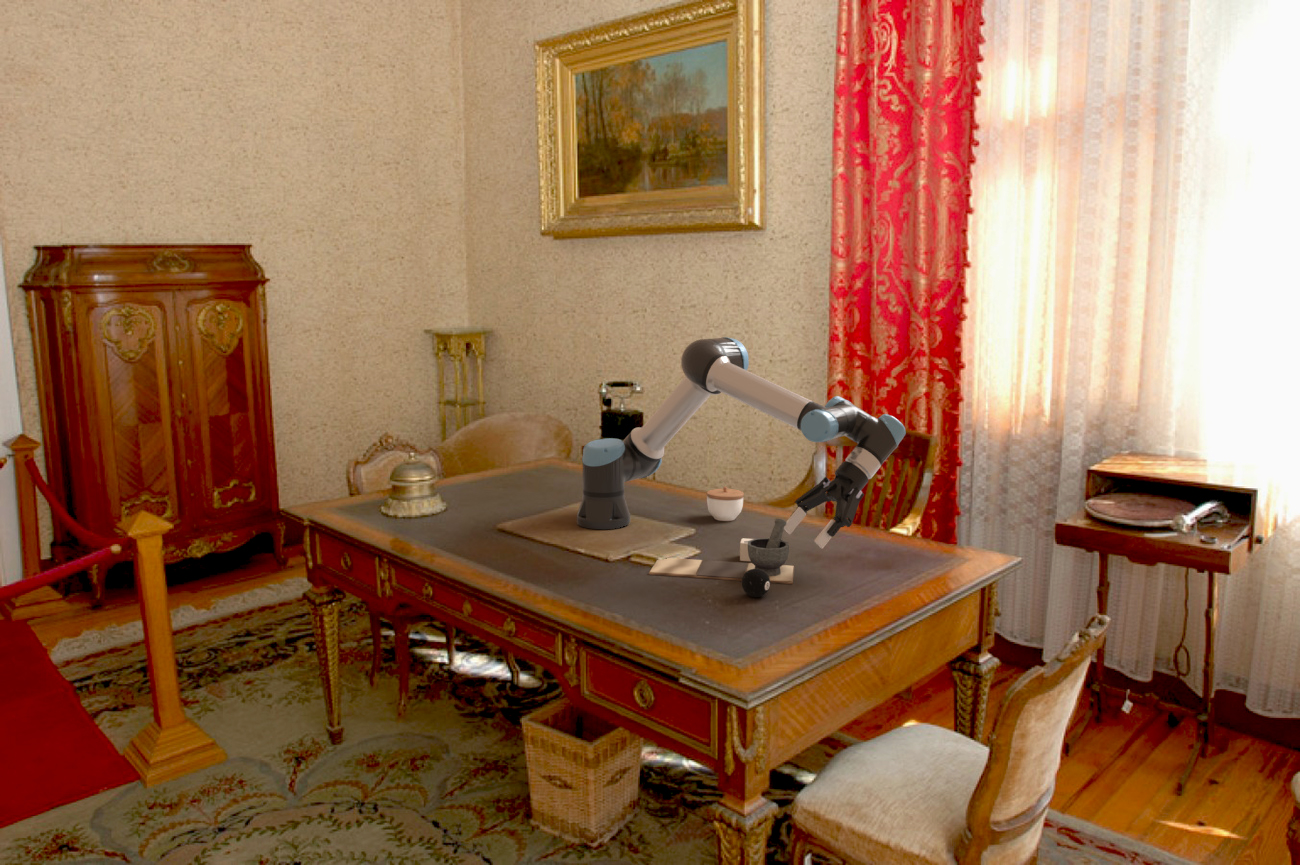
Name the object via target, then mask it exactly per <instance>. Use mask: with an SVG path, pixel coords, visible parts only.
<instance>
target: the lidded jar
mask: <svg viewBox="0 0 1300 865" xmlns="http://www.w3.org/2000/svg"><path fill="white" fill-rule="evenodd" d="M744 497H745V493H744V492H743V490H738V489H734V488H733V489H732V488H728V487H727V486H723V488H715V489H714V488H713V489H710V490H708V491H706V504H707V509H708V512H709V514H710V515H711V516H712V517H713V519H714V520H716V521H721V522H730V521H731V522H733V521H735V520H736V518H737V517H738V516H739V515H740V514H741V512H742V511H743V506H744Z"/></svg>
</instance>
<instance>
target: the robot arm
mask: <svg viewBox="0 0 1300 865" xmlns="http://www.w3.org/2000/svg"><path fill="white" fill-rule="evenodd" d="M749 362H750V361H749V353H748V351H747V349H746V347H745V346H744V344H743V343H742V342H741V341H739V340H738V339H735V338H733V337H728V336H724V337H717V338H701V339H698V340H697V339H696V340H694V341H692V342H691V343H689V344H688V345H687V346H686V347H685V349H684V350H683V352H682V355H681V360H680V365H681V370H682V372H683V373H684V375H685V377H684V378H683V379H682V380H681V381H680V383H679V384H678V385H677V386H676V387H675V389H673V391H672V392H671V393H670V395H668V396H667V398H666V399H665V400H664V401H663V402H662V404H660V405H659V407H658V408H657V409H655V411H654V413H653V414H652V415H651V416H650V417H649V418H648V420H647V421H646V422H645V423H644V425H642V426H641V427H640V426H639V427H635V428H633V429H632V430H631V431H630V432H629V433H628V435H627V436H626V437H625V438H624V439H623V440H622V439H619V438H613V437H611V438H610V437H609V438H602V439H601V438H600V439H595V440H592V441H589V442H587V443H586V444H585V445H584V446H583V449H582V458H581V460H582V499H581V502H580V505H579V508H578V510H577V513H576V514H577V515H576V524H577V525H578V526H580V527H582V528H585V529H591V530H593V529H594V530H614V529H615V528H616V529H621V528H624V527H623V526H625V527H627V526H629V525H630V524H631V513H630V511H629V507H628V503H627V501H626V498H625V483H626V482H630V481H631V482H632V481H635V480H638V479H645V478H647V477H649V476H651V475H653V474H655V473H656V472H657V471H658V470H659V468H660V467H661V465H662V461H663V459H662V458H663V456H664V455H665V447H666V446H667V444H668V443H669V442H670V441H671V440H672V439H673V438H674V437H675V436H676V435H677V433H678V432H679V431H680V430H681V429H682V428H683V427H684V426H685V425H686V424H687V422H688V421H690V419H691V418H692V417H693V416H694V414H695V413H696V412H697V411H698V410H699V409H700V408H701V407H702V406H703V404H704V403H705V402H707V400H708V399H709V398H710V397H711V396H718V395H720V394H721V393H722V394H724V395H727V396H729V397H730V398H733V399H735V400H737V401H739V402H741V403H743V404H746V405H747V406H749V407H751V408H754V409H755V410H757V411H759V412H761V413H763V414H766V415H768V416H770V417H772V418H773V419H776V420H778V421H780V422H783V423H784V424H787V425H789V426H791V427H793V428H794V429H797V430H799V431H801V433H802V435H803V436H804V438H805V439H806V440H808V441H810V442H812V443H825V442H828V441H831V440H833V439H837V438H841V437H847V438H848V439H849V440H851V441H853V442H855V443H856V444H857V445H855V447H854V448H853V449H852V451H851V452H850V453H849V454H848V455H847V457H846V458H845V461H842V462H841V463H840V465H839V466H838V467H837V468H836V470H834V475H835V477H834V478H833V480H830V479H829V478H828V477H827V476H826V477H824V478H822V480H820V482H819V483H818V484H816V485H815V486H813V487H812V488H810V489H809V490H808V491H806V492H805V493H803V494H802V495H801V496H799V497H798V498H797V499H795V500H794V502H795V504H796V505H797V507H796V508H795V509H794V511H793V512H792V514H791V515H790V517H788V519H787V520H785V521H786V525H785V526H784V530H783V531H785V532H786V533H787V534H788V535H791V534H792V533H793V532H794V530H795V529H796V528H797V527H798V526H799V525H800V523H801V522H802V521H803V520H804V518H805V517H806V516H807V514H808V512H809V511H810V510H813V509H814V508H817V507H818V506H819V505H822V504H824V503H825V502H831V501H832V502H836V507H835V512H834V514H835V515H834V517H832V519H830V521H829V522H828V523H827V524H826V525H825V526H824V528H823V529H822V530H821V531H820V532H819V534H817V537H815V538H814V539H813V542H814V543H815V544H816V545H817V546H818V547H819V548H820V549H824V547H825V546H826V545H827V544H828V543H829V541H830V540H831V539H832V538H833V537H834V536H835V535H836V534H837V533H838V532H839V530H840V529H841V528H844V527H847V528H850V527H851V526H852V524H853V522H854V519H855V516H856V513H857V510H858V508H859V505H860V501H862V499H863V498H864V496H865V494H864V493H863V491H862V490H863V489H864V487H865V486H866V485H867V484H868V483H869V480H871V479H872V478H873V477H874V476H875V474H876V473H877V472H878V471H879V469H880V468H881V466H882V465H883V464H884V463H885V461H886V460H888V458H889V457H890V455H891V454H892V453H893V452H894V451H895V450H896V449H897V448H898V447H899V444H900V443H901V442H902V440H903V439H904V437H905V436H906V433H907V432H906V427H905V425H904V424H903V423H902V422H901V421H900V420H899V419H897V418H896V417H895V416H893V415H890V414H888V413H887V414H886V413H884V414H882V415H881V416H879V417H878V418H877V417H875V416H872V415H871V414H869V413H867V412H866V411H865V410H863V409H861V408H860V407H858V406H856V405H855V404H853V403H852V402H851V401H850V400H847V399H845V398H843V397H841V396H838V395H836V396H833V397H832V398H831V399H829V400H828V401H827V403H826V404H825V405H821V404H819V403H817V402H815V401H813V400H811V399H809V398H807V397H804V396H802V395H800V394H798V393H796V392H794V391H791V390H789V389H788V388H785V387H783V386H782V385H778V384H776V383H774V382H772V381H770V380H768V379H766V378H764V377H761V376H759V375H757V374H755V373H753V372H751V371H748V369H749V365H750V364H749ZM629 523H630V524H629ZM628 524H629V525H628ZM626 525H627V526H626ZM620 527H621V528H620Z"/></svg>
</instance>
